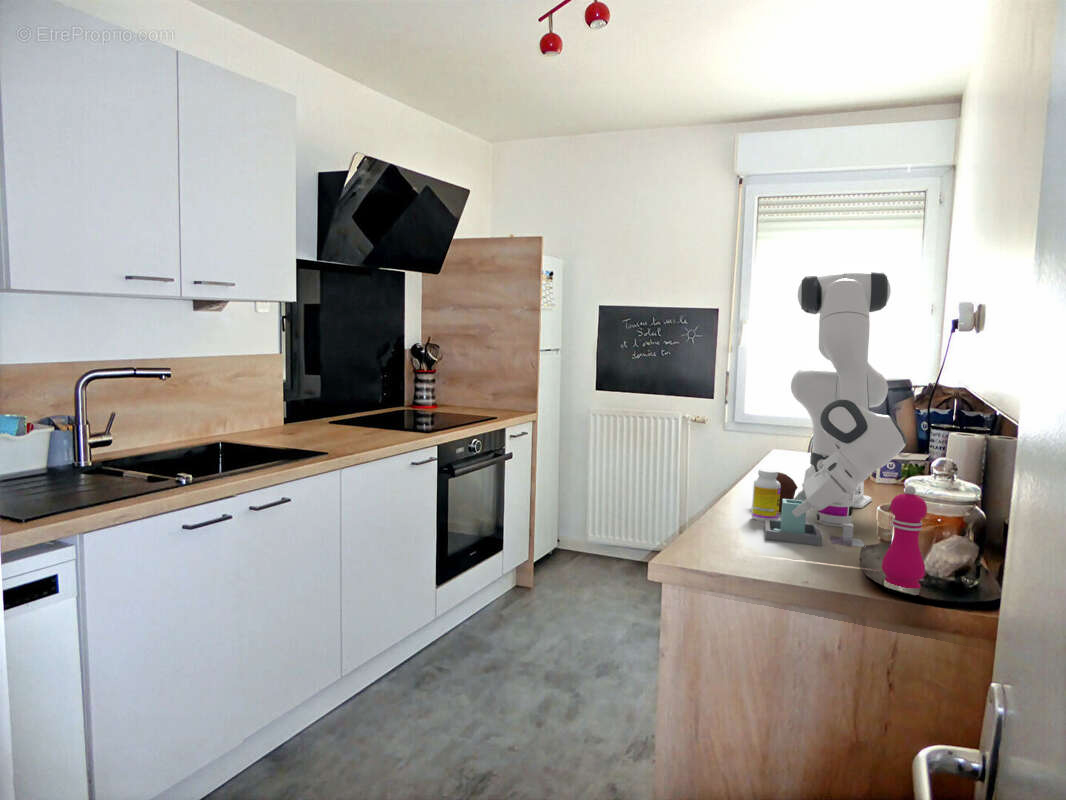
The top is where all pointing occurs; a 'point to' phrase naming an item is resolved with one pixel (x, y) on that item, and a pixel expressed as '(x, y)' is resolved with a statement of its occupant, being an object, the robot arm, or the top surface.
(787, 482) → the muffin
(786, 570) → the top surface
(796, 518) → the collar
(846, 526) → the square peg base
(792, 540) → the tray
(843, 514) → the supplement can
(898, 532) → the pepper mill
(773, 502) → the supplement bottle
